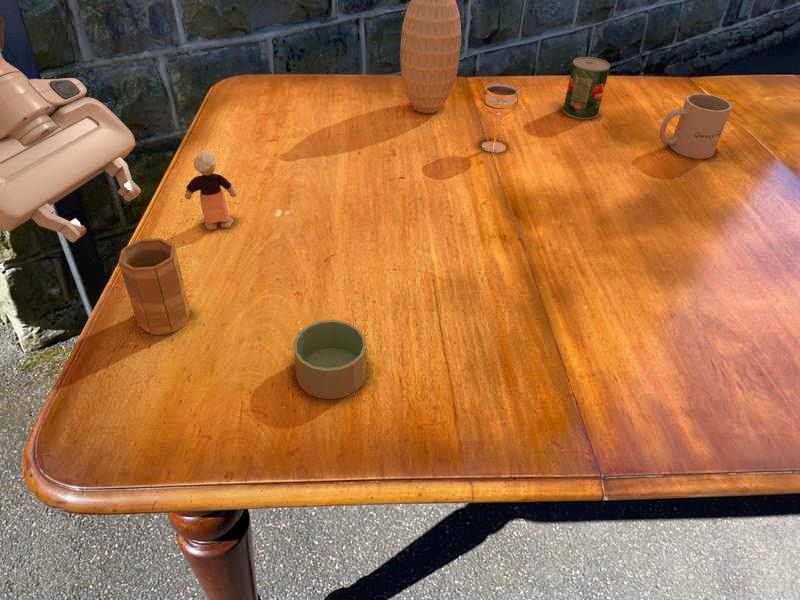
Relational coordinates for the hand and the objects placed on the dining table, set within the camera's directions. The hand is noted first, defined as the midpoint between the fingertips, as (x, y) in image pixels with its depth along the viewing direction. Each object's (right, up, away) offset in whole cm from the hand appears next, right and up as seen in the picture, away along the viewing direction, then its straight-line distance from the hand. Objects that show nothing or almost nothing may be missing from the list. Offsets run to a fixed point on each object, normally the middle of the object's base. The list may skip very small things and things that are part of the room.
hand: (109, 216), depth 73 cm
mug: (+92, +22, +58) cm, 111 cm away
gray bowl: (+25, -19, +6) cm, 32 cm away
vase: (+40, +33, +69) cm, 86 cm away
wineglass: (+53, +21, +55) cm, 79 cm away
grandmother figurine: (+4, +2, +30) cm, 30 cm away
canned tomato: (+75, +33, +70) cm, 107 cm away
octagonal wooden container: (+2, -12, +12) cm, 17 cm away
